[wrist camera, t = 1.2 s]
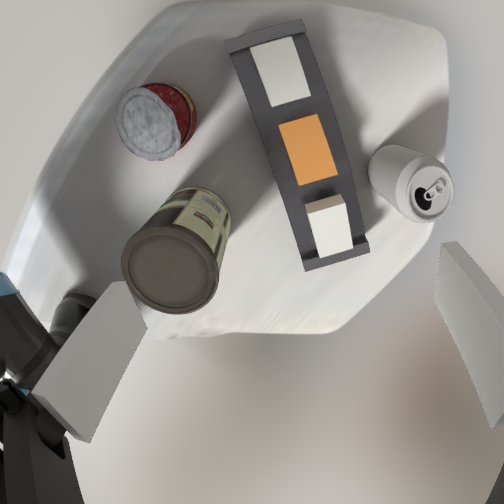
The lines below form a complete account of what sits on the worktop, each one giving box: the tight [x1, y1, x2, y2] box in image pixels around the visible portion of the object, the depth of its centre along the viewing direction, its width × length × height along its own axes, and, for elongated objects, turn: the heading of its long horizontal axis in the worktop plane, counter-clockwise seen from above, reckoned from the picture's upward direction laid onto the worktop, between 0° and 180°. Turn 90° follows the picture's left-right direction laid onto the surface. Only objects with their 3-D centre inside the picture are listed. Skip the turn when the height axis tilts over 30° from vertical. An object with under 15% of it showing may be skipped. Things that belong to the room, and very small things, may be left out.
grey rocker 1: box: [305, 194, 353, 258], centre depth 36 cm, size 7×4×2 cm, turn 19°
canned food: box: [116, 82, 196, 161], centre depth 34 cm, size 11×10×10 cm
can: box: [368, 144, 454, 223], centre depth 32 cm, size 8×8×12 cm
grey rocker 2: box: [250, 37, 311, 107], centre depth 28 cm, size 7×4×2 cm, turn 19°
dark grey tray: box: [224, 19, 370, 272], centre depth 35 cm, size 30×9×5 cm, turn 20°
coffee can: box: [121, 187, 231, 315], centre depth 36 cm, size 10×10×14 cm
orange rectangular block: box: [279, 114, 338, 186], centre depth 32 cm, size 7×4×2 cm, turn 20°
